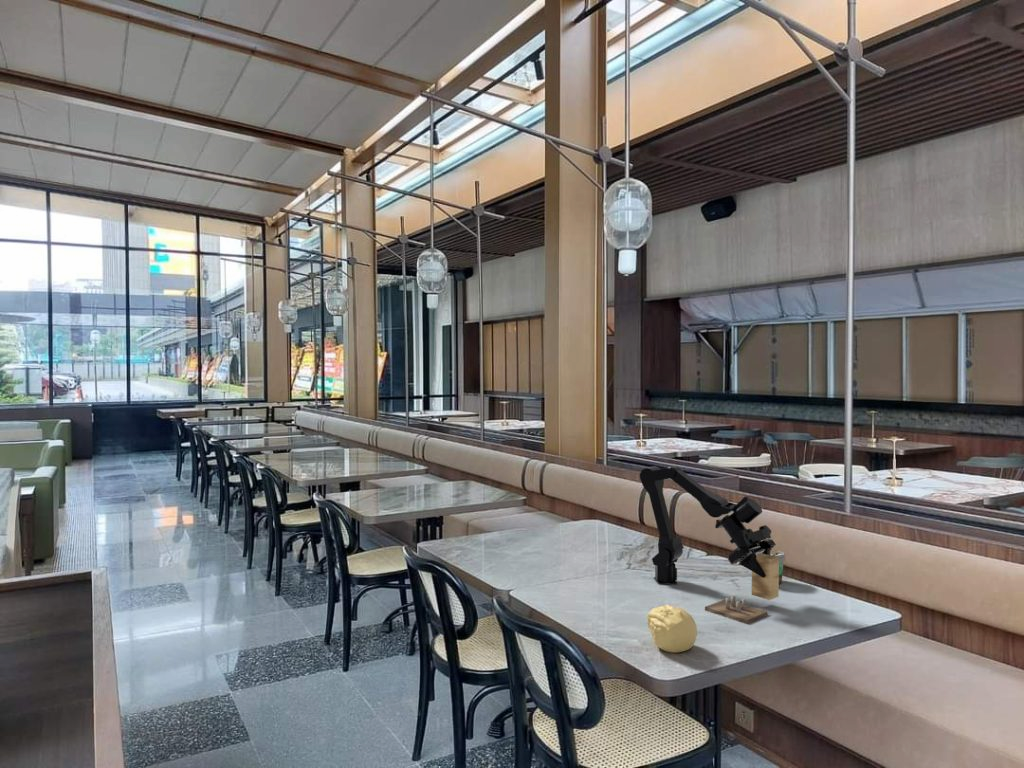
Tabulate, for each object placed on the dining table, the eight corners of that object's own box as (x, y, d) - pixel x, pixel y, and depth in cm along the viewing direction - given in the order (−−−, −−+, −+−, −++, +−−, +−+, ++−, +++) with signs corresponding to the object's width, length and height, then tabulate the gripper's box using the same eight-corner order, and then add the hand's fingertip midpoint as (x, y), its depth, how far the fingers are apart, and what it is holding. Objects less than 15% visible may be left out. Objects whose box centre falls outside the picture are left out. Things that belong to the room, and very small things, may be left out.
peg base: (704, 610, 199) (704, 596, 199) (726, 602, 206) (726, 589, 206) (746, 623, 188) (746, 609, 188) (767, 615, 195) (767, 601, 195)
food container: (767, 589, 218) (768, 559, 218) (753, 583, 224) (753, 554, 224) (793, 583, 224) (793, 554, 224) (778, 578, 230) (778, 550, 229)
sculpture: (640, 643, 175) (640, 602, 174) (676, 635, 180) (677, 596, 180) (668, 660, 164) (668, 617, 164) (705, 651, 169) (706, 610, 169)
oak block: (751, 594, 203) (752, 555, 203) (760, 591, 206) (761, 553, 206) (769, 600, 199) (770, 560, 198) (778, 596, 202) (779, 557, 201)
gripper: (737, 521, 199) (770, 566, 191) (770, 513, 211) (803, 555, 202) (714, 542, 206) (745, 586, 197) (747, 533, 217) (779, 574, 209)
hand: (769, 575), depth 201 cm, fingers closed on oak block, 5 cm apart
